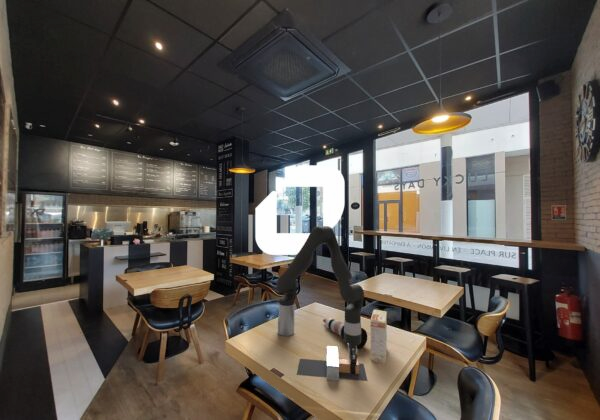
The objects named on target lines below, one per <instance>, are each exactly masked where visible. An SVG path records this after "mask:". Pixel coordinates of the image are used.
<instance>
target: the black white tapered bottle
mask: <svg viewBox="0 0 600 420" xmlns="http://www.w3.org/2000/svg"><path fill="white" fill-rule="evenodd" d="M322 321H323V323H324V324H325V327H326V328H327V329H330V331H332V332H333V333H334V334H337V335H338V336H340V338H341V339H342V341H344V322H342V321H341V320H337V319H334V318H331V317H327V319H326V318H324V319H322ZM367 340H368V332H367V331H366V329H365V328H363V327H361V343H360V344H359V345H357V349H362V348H364V347H365V346H366V344H367Z"/></svg>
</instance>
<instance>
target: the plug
mask: <svg viewBox="0 0 600 420" xmlns="http://www.w3.org/2000/svg"><path fill="white" fill-rule="evenodd" d="M338 360H339V372H343V373H350V359H346V358H345V359H344V358H343V359H342V358H338ZM356 364H357V365H356V368H355V374H359V360H358V359H357V363H356Z"/></svg>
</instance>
